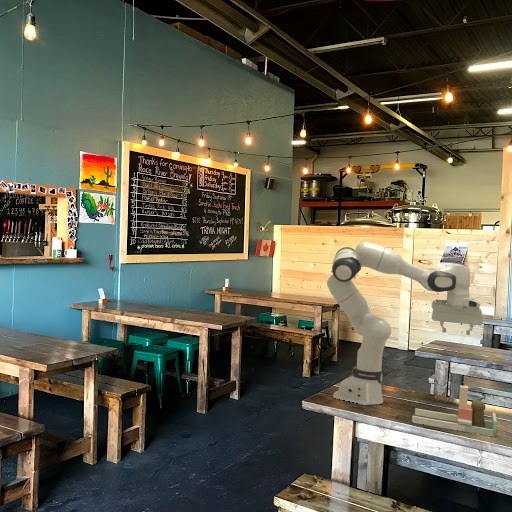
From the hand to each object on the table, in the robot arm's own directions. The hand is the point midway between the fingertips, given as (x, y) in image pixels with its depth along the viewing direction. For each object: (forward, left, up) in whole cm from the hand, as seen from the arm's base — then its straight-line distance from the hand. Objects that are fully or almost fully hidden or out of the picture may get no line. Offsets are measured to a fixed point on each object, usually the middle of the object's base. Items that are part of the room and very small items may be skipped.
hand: (455, 333), depth 213 cm
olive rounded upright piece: (+10, -13, -35) cm, 39 cm away
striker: (+5, -13, -35) cm, 37 cm away
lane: (+1, -13, -35) cm, 37 cm away
